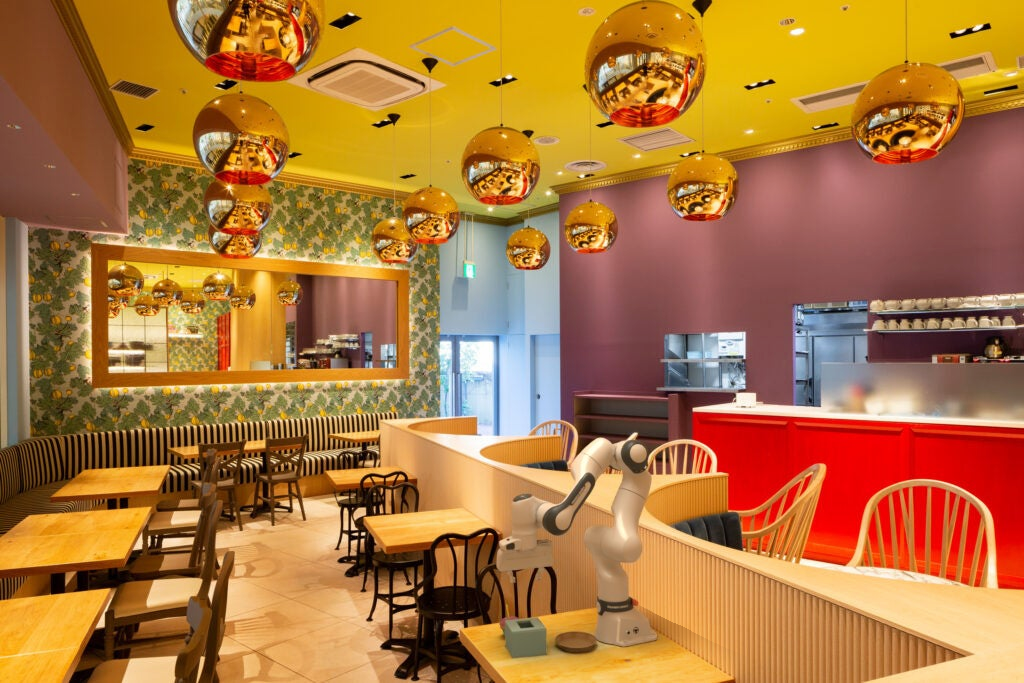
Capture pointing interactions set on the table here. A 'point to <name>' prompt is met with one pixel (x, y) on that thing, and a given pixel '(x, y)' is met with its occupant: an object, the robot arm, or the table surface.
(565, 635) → the plant saucer
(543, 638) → the coin box
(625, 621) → the robot arm
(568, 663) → the table surface
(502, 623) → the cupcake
